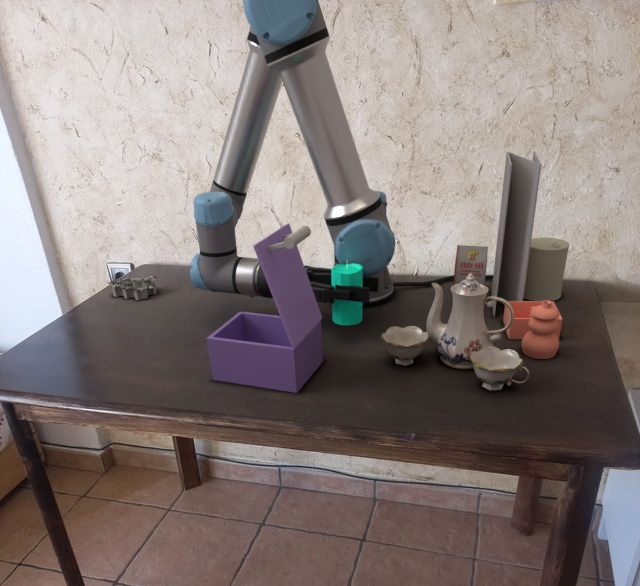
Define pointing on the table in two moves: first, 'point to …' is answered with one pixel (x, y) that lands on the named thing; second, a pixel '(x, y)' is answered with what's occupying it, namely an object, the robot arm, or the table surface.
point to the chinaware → (460, 336)
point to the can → (545, 269)
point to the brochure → (515, 226)
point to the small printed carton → (470, 263)
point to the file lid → (289, 281)
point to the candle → (345, 309)
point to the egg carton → (134, 287)
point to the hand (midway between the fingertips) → (373, 289)
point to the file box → (263, 353)
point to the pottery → (535, 327)
